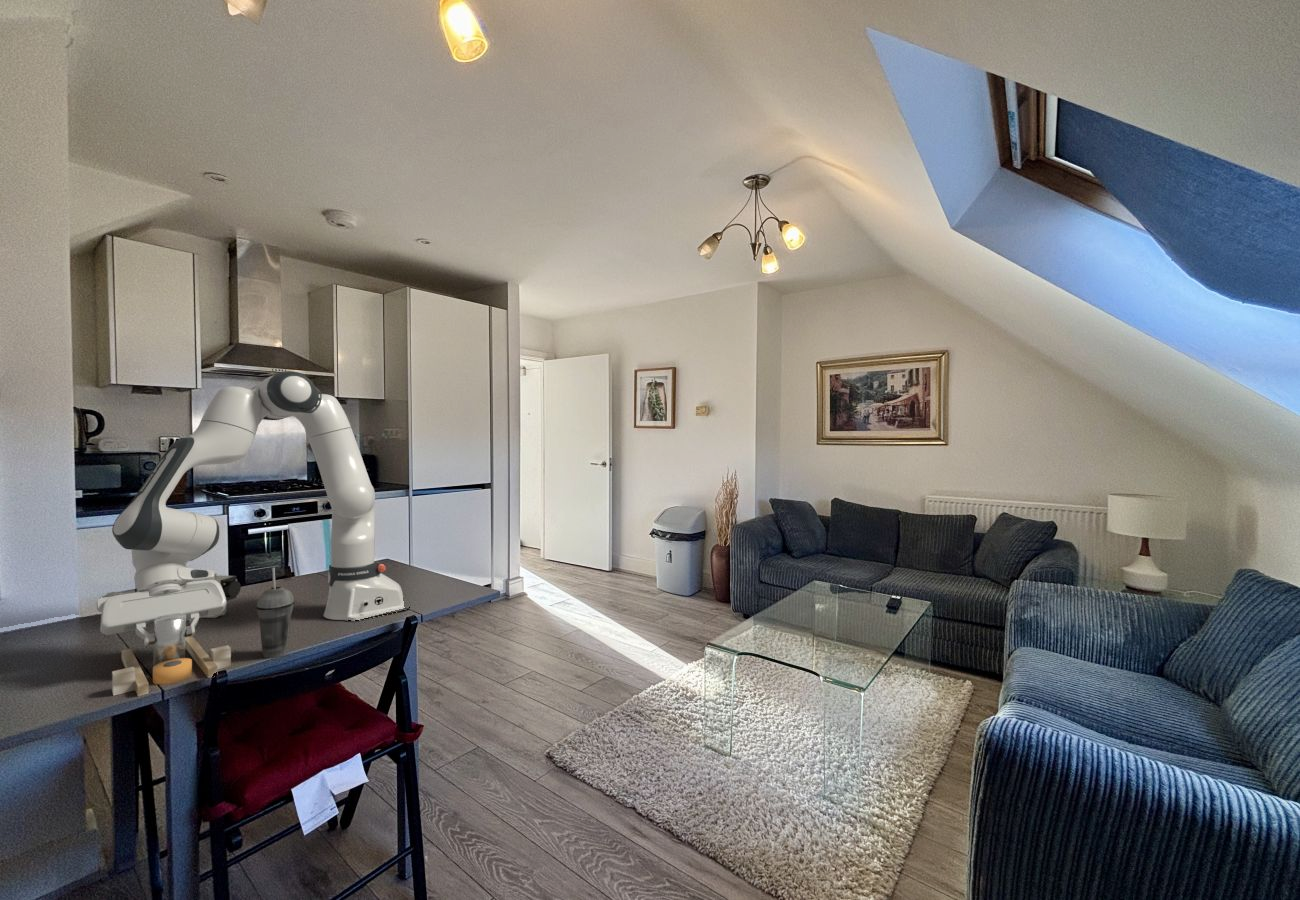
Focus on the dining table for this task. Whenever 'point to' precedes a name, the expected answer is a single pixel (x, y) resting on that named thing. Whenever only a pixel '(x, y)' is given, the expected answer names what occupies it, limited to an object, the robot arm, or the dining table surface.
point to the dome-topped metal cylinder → (169, 637)
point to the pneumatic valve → (227, 589)
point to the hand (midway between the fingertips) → (170, 639)
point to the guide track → (137, 681)
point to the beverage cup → (275, 619)
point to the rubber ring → (172, 671)
